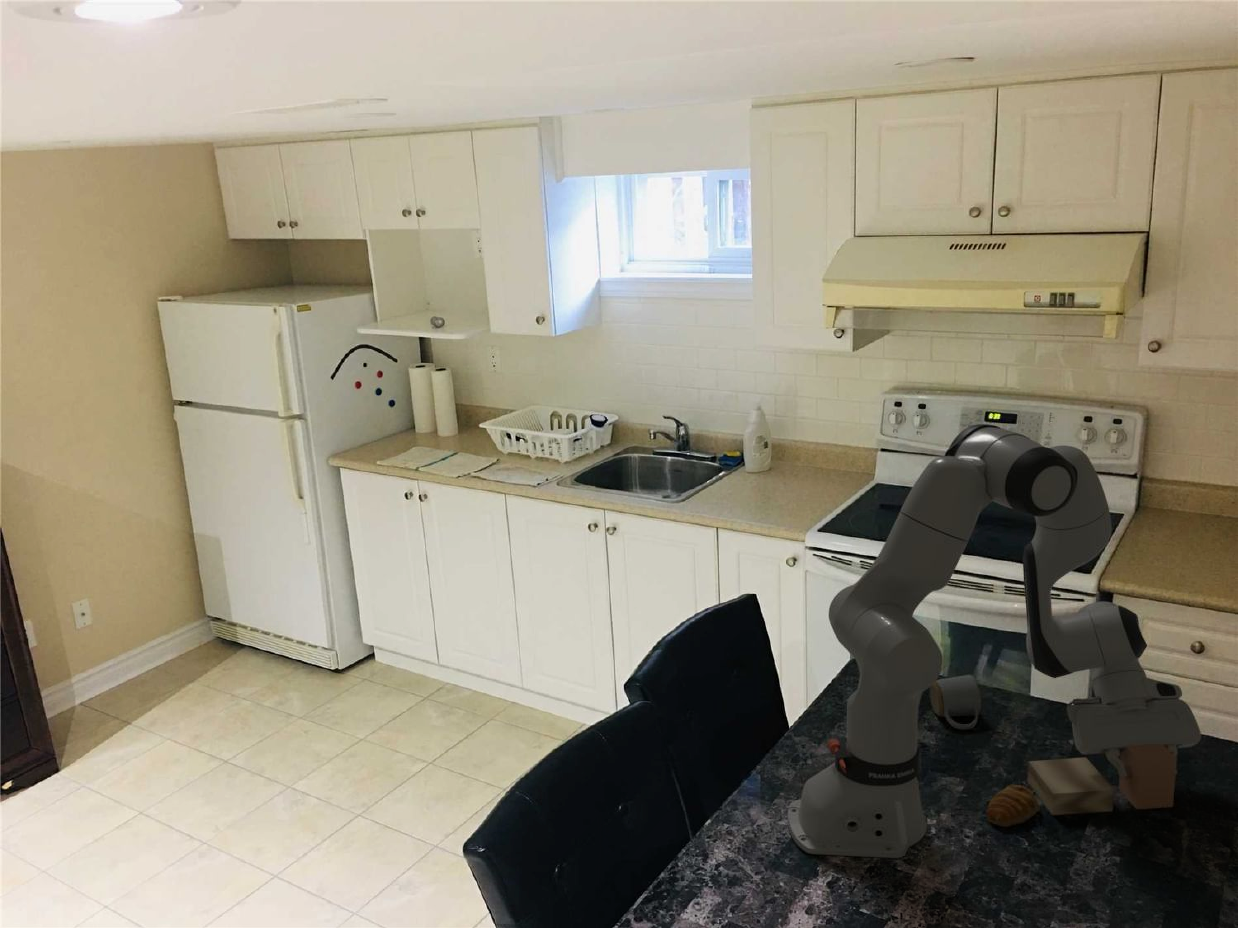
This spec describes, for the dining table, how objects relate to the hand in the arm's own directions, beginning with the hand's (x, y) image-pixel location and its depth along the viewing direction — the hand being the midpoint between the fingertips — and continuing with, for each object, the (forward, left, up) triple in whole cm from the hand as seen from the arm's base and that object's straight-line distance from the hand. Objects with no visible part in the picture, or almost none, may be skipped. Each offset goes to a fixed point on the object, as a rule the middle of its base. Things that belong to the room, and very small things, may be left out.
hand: (1149, 776), depth 172 cm
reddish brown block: (0, +1, -4) cm, 4 cm away
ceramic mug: (-21, +31, -5) cm, 38 cm away
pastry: (-23, -1, -5) cm, 24 cm away
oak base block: (-12, +3, -4) cm, 13 cm away
